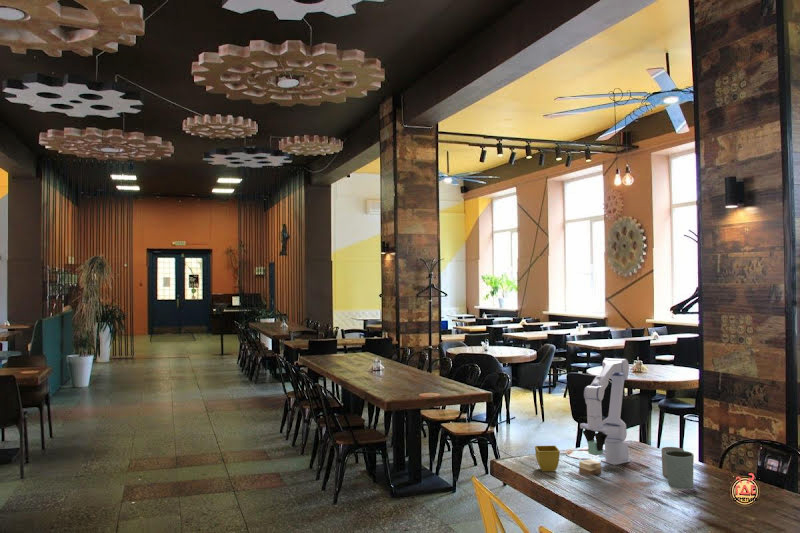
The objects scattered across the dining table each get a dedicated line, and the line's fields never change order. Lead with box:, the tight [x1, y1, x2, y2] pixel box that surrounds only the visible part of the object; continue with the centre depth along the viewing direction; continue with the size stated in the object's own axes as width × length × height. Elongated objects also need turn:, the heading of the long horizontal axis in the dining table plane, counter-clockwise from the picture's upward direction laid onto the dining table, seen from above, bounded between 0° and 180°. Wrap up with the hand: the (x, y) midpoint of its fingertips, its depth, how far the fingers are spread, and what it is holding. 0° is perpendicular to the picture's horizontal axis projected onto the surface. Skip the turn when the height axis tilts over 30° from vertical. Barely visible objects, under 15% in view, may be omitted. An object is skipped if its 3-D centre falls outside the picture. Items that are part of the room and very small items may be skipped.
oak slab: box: [578, 458, 602, 471], centre depth 269 cm, size 6×6×2 cm
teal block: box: [587, 439, 604, 456], centre depth 268 cm, size 4×4×5 cm
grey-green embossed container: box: [665, 450, 695, 490], centre depth 249 cm, size 10×10×12 cm
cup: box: [661, 446, 685, 478], centre depth 262 cm, size 8×8×10 cm
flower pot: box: [534, 445, 561, 472], centre depth 273 cm, size 9×9×9 cm
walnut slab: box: [578, 467, 602, 476], centre depth 269 cm, size 6×6×2 cm
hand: (595, 449), depth 268 cm, fingers closed on teal block, 4 cm apart
